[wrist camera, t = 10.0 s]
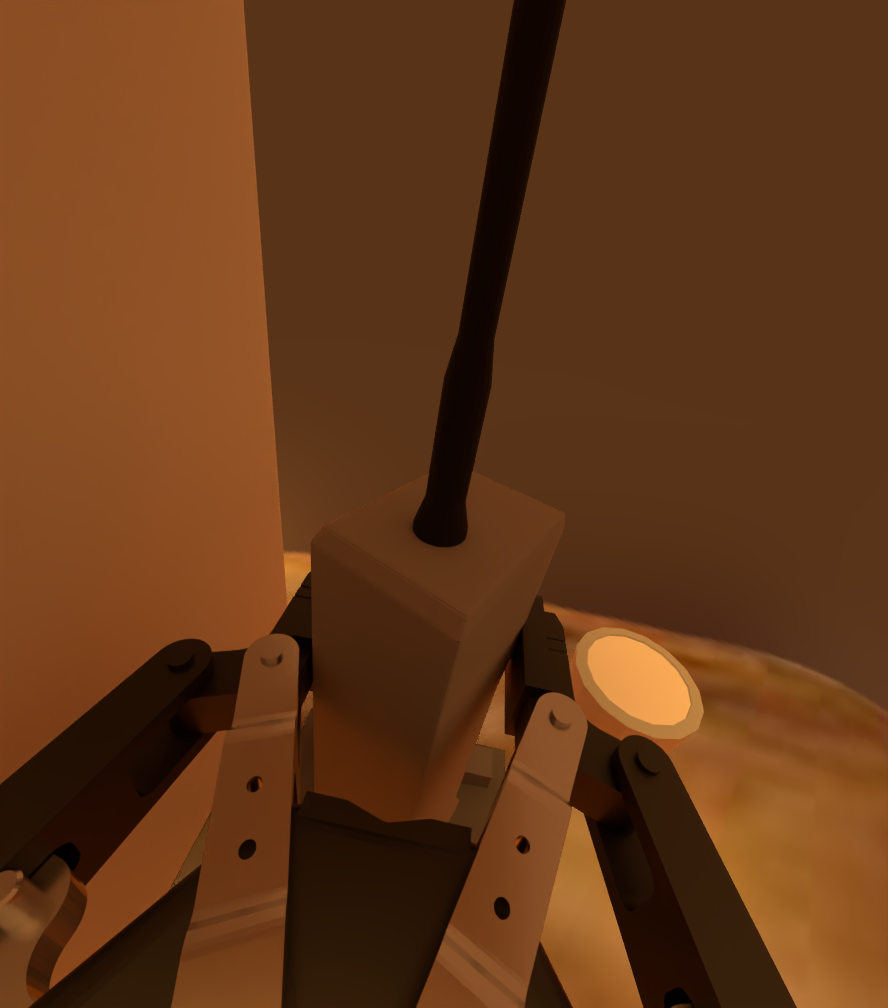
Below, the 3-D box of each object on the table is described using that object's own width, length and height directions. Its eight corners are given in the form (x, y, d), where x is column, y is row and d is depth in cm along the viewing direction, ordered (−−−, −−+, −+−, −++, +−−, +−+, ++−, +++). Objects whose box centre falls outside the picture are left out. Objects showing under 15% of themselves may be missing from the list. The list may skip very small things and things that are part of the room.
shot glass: (663, 816, 23) (728, 753, 19) (544, 787, 23) (585, 720, 20) (633, 704, 29) (678, 639, 25) (538, 682, 29) (569, 615, 26)
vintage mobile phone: (455, 811, 19) (751, 43, 6) (381, 933, 15) (744, -410, 2) (394, 757, 20) (523, 57, 8) (314, 855, 17) (296, -193, 4)
